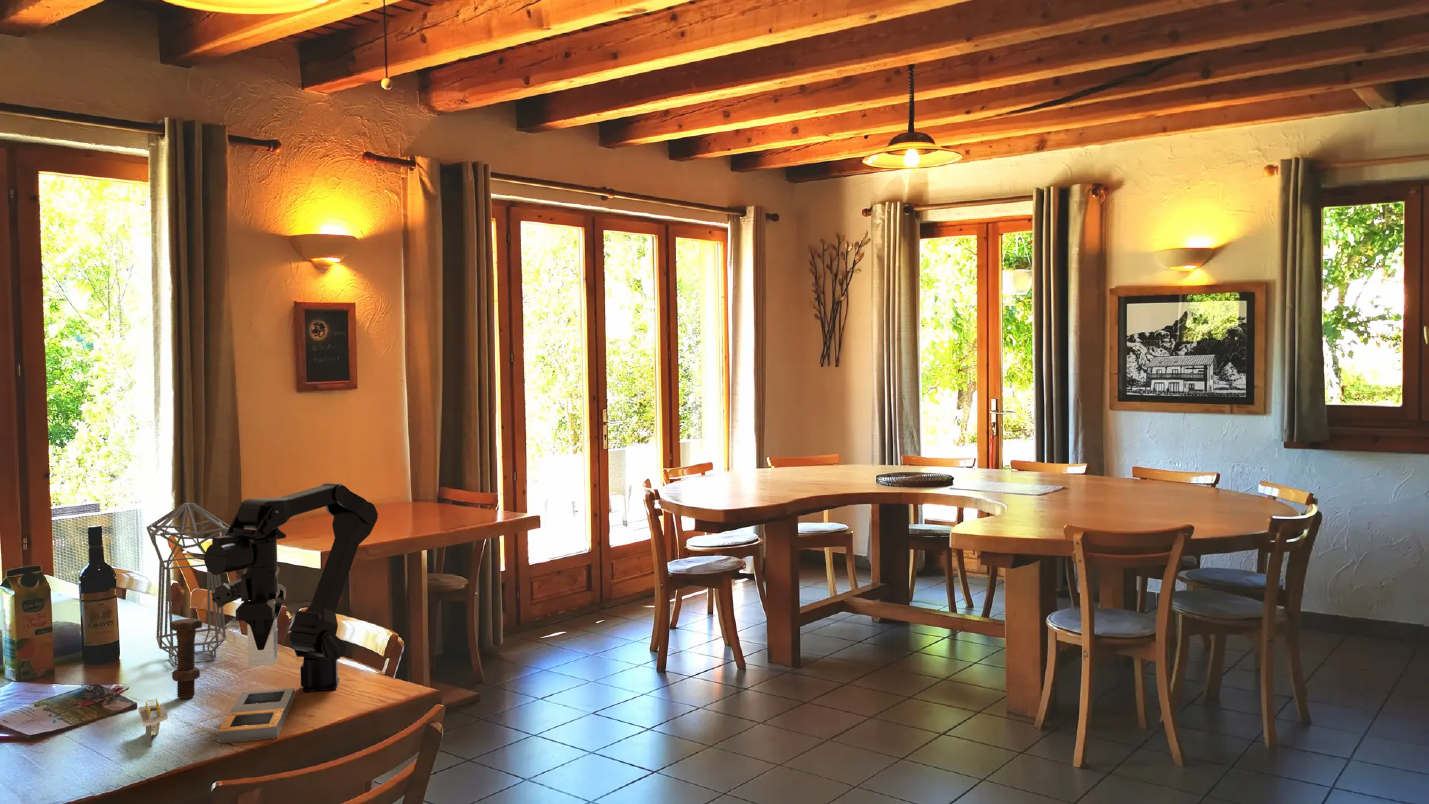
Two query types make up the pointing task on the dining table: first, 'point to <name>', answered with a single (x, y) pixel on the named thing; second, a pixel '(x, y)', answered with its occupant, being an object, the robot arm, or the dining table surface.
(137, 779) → the dining table surface
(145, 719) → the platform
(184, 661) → the bolt
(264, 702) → the rail plate
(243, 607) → the robot arm
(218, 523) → the geometric lantern
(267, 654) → the nut block
